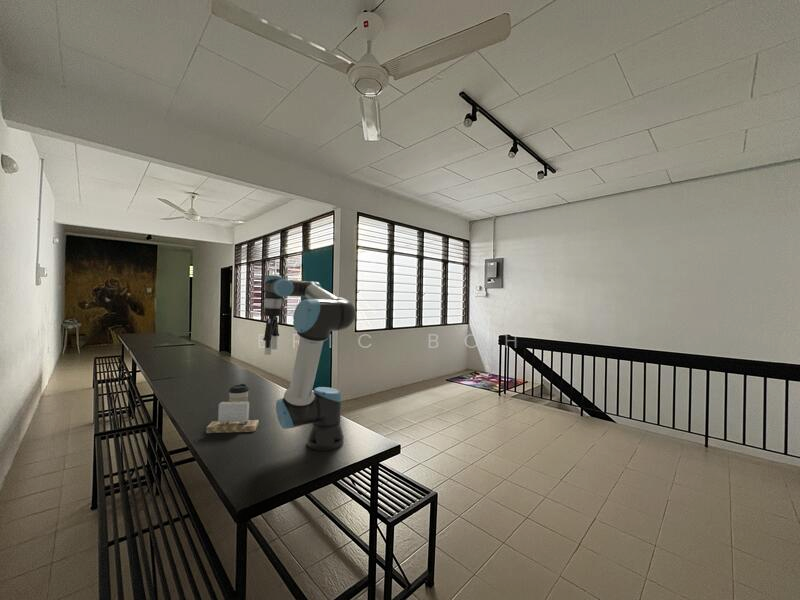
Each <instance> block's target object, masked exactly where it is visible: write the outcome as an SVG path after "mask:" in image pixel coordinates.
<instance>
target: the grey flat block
mask: <svg viewBox="0 0 800 600" xmlns="http://www.w3.org/2000/svg"><path fill="white" fill-rule="evenodd" d="M217 414H218V415H217V417H218V418H217V421H218V422H220V426H227V425H228V422H239V425H246V421H247V420H250V419H249V417H250V401H247V402H230V401H221V402H220V403H219V404H218V413H217Z"/></svg>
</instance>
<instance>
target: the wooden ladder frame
mask: <svg viewBox="0 0 800 600" xmlns="http://www.w3.org/2000/svg"><path fill="white" fill-rule="evenodd" d="M259 423H260V421H259V419H252V420H251V419H248V420H247V421H246V425H239V422H228V425H227V426H220V422H218V420H212V421H211V422H210V423H209V424H208V425H207V426H206V434H214V433H216V434H217V433H249V432H250V433H252V432H255V431H256V430H257V428H258V427H259Z"/></svg>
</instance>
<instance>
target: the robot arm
mask: <svg viewBox="0 0 800 600" xmlns="http://www.w3.org/2000/svg"><path fill="white" fill-rule="evenodd" d="M264 281H265V282H264V300H263V303H264V309H263V315H264V316H265V317H267V318H266V324H265V331H264V337H263V339H262V340H263V341H264V355H265V356H266V355H267V356H268V355H269V356H270V355H272V350H278V337H279V336H280V333H279V324H278V323H279V322H278V321H279V317H280V316H282V305H283V304H282V300H283V299H282V297H301V298H303V297H304V298H306V299H303V300H301V301H299V303H297V306H295V310H294V312H293V317H292V320H293V321H292V324H293V328H294V330H295V331H296V335H298V337H299V342H298V345H297V346H298V347H297V351H296V355H295V359H294V365H293V370H292V375H291V380H290V384H289V387H288V388H287V389H286V390H285V391H284V394H283V397H281V398H279V399H277V400H276V402H275V410H276V412H275V413H276V417H277V420H278V423H279V426H280V427H281V428H282V429H284V430H288V429H294V428H297V427H301V426H306V425H309V424H310V425H311V424H312V426H311V428H310V431H309V433H308V436H307V442H306V443H307V444H306V445H307V447H308V448H310V449H312V450H315V451H320V452H326V451H333V450H336V449H339V448H340V447H342V445H343V444H344V440H345V439H344V433H343V429H342V426H341V415H342V413H341V412H342V411H341V410H342V402H343V400H342V393H341V391H340V390H339V389H337V388H332V387H327V386H318V387H315V388H314V384H315V379H316V374H317V371H318V367H319V363H320V358H321V353H322V349H323V344H324V342H325V341H327V340H328V339H329V336H330V333H331V332H335V331H342V330H346V329H348V328H349V327H350V326H351V325H353V324H354V321H355V319H356V315H357V314H356V308H355V306H354V305H353V303H352V302H351V301H349V300H348V299H346V298H344V297H337V296H336V295H335V294H333V293H331V292H329V291H328V290H325V289H324V288H323V287H322V285H321V283H320V282H319V281H313V280H311V281H308V280H296V279H295V280H293V279H284V278H283V277H282V275H277V274H276V275H274V274H268V275H266V276H265V279H264ZM313 388H314V389H313Z"/></svg>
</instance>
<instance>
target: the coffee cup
mask: <svg viewBox="0 0 800 600" xmlns="http://www.w3.org/2000/svg"><path fill="white" fill-rule="evenodd" d="M228 392H229V397H228V399H229V401H228V402H248V401H249V400H248V399H249V387H248V386H247V385H246V384H244V383H241V384H235V385H232V386H231V388H229V391H228Z"/></svg>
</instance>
